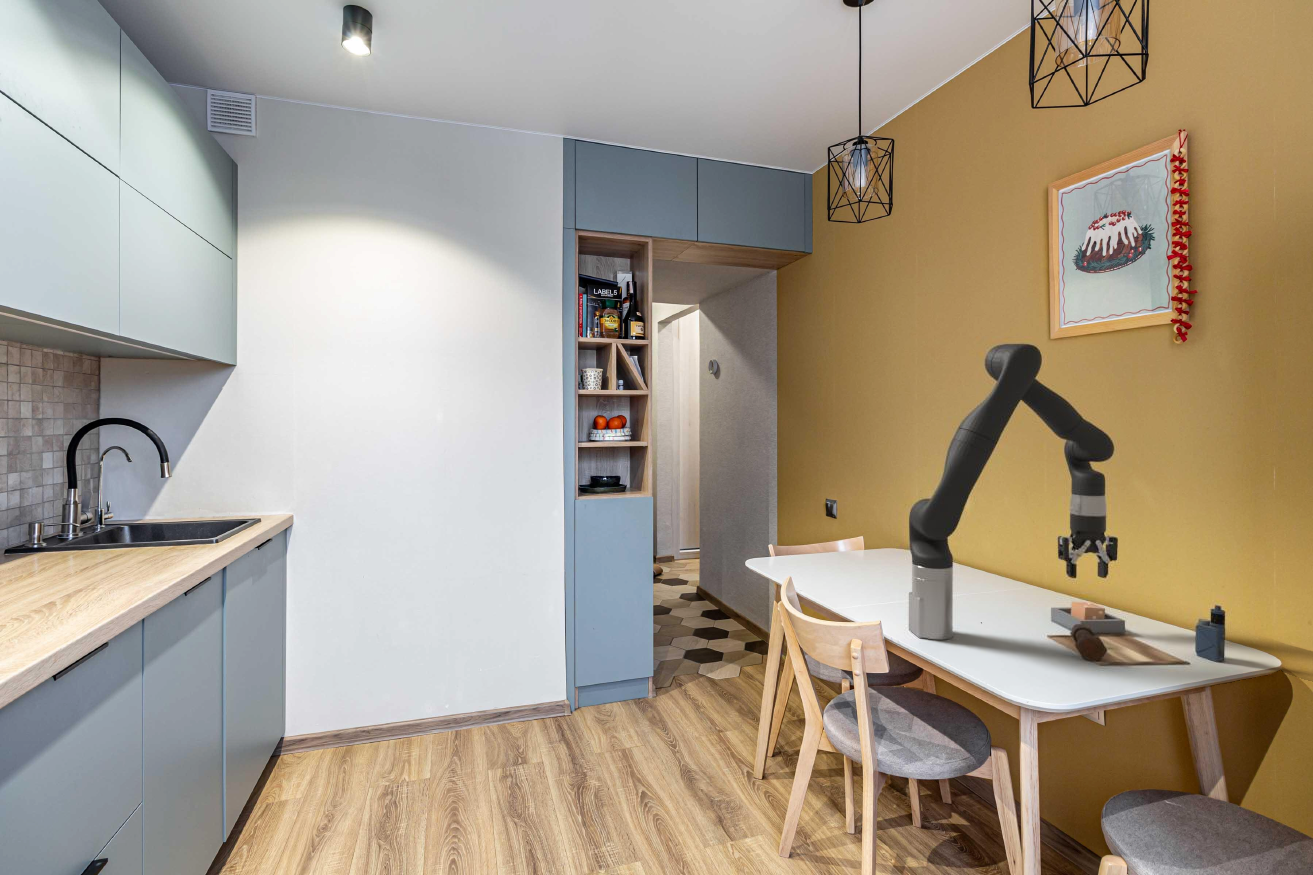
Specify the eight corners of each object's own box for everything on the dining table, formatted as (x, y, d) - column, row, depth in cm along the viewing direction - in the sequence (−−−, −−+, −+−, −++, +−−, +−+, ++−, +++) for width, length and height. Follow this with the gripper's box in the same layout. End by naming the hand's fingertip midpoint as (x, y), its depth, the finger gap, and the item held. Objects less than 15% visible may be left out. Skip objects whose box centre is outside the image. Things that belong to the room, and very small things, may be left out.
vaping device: (1219, 663, 133) (1220, 608, 133) (1192, 654, 138) (1193, 601, 138) (1227, 661, 134) (1228, 607, 134) (1200, 653, 139) (1201, 600, 139)
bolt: (1083, 646, 148) (1095, 666, 134) (1061, 633, 150) (1071, 651, 136) (1098, 626, 147) (1111, 645, 133) (1076, 613, 149) (1087, 630, 135)
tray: (1080, 635, 151) (1080, 621, 151) (1051, 620, 162) (1051, 607, 162) (1124, 634, 151) (1124, 620, 151) (1092, 620, 162) (1092, 607, 162)
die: (1083, 627, 154) (1085, 607, 154) (1070, 620, 159) (1071, 601, 159) (1103, 628, 154) (1105, 608, 154) (1089, 621, 159) (1091, 602, 159)
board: (1100, 665, 133) (1100, 663, 133) (1047, 636, 150) (1047, 635, 150) (1189, 663, 133) (1189, 662, 133) (1126, 635, 151) (1126, 634, 151)
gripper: (1070, 515, 152) (1069, 581, 153) (1127, 514, 152) (1126, 580, 153) (1050, 510, 160) (1049, 574, 160) (1104, 510, 160) (1104, 573, 160)
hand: (1087, 577), depth 156 cm, fingers open, 7 cm apart
